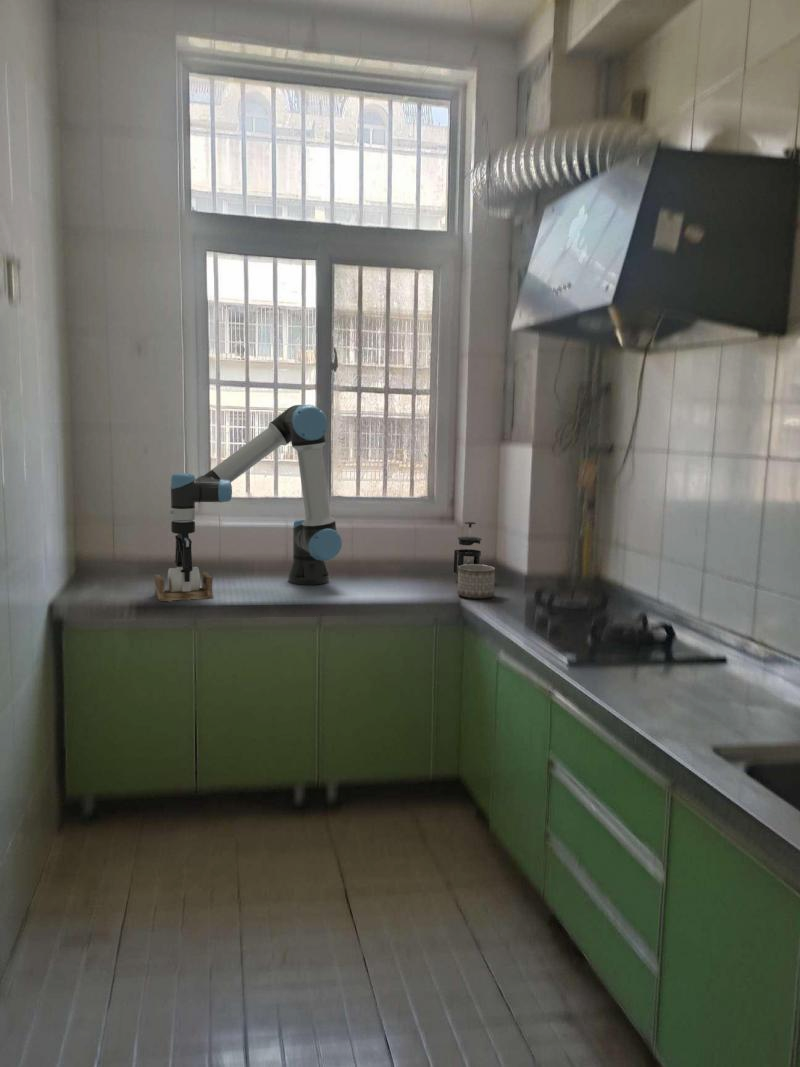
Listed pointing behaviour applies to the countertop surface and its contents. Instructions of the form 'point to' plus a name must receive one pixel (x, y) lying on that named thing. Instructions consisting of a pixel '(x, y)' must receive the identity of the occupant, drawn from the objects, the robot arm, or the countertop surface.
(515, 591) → the countertop surface
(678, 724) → the countertop surface
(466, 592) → the planter
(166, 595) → the holder
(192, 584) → the roll
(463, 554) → the french press
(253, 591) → the countertop surface
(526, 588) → the countertop surface
